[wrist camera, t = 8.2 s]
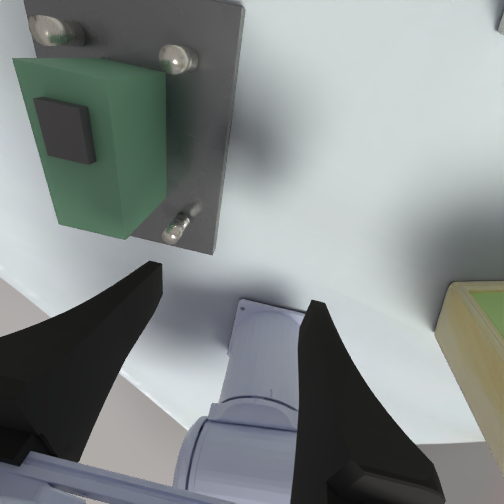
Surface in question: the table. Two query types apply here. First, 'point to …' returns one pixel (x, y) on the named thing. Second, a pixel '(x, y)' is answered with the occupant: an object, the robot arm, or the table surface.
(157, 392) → the table surface
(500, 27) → the skincare box
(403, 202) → the table surface
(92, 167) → the circuit block
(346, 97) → the table surface
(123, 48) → the plate
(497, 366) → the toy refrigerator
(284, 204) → the table surface
